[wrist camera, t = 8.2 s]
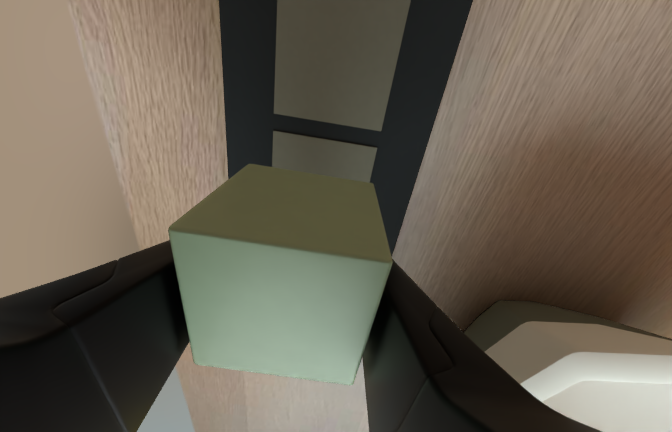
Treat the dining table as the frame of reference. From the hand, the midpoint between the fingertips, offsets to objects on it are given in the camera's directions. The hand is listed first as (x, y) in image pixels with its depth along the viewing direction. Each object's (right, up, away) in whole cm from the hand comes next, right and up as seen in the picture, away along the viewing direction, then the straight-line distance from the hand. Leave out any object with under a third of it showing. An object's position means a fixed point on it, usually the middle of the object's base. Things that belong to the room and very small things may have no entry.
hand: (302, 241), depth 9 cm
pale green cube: (0, 0, +1) cm, 1 cm away
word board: (0, -1, +8) cm, 8 cm away
